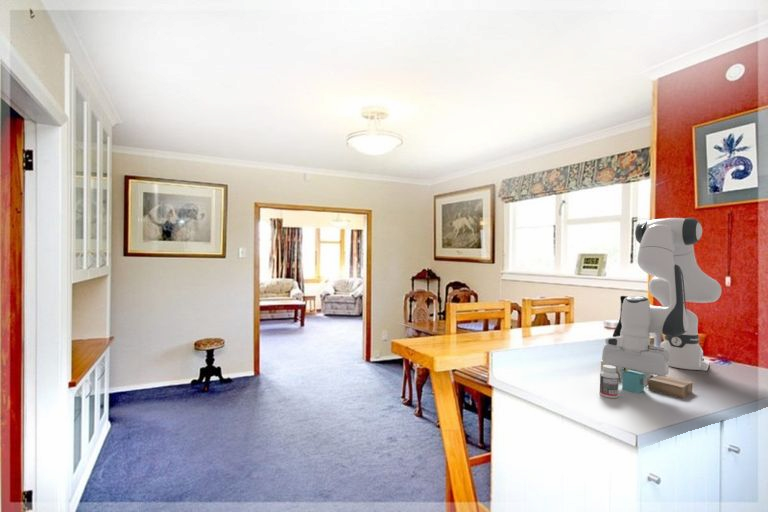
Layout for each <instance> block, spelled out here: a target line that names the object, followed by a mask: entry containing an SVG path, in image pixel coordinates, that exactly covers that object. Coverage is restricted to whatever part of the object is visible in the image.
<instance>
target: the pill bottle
mask: <svg viewBox="0 0 768 512" xmlns="http://www.w3.org/2000/svg"><path fill="white" fill-rule="evenodd" d="M603 370H604V371H602V372H601V371H600V374H599V395H600V396H602V397H605V398H611V399H617V398H618V397H619V381H620V380H619V379H620V378H619V376H618V374H616V367H615V366H612V365H603Z"/></svg>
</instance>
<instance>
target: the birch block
mask: <svg viewBox="0 0 768 512" xmlns="http://www.w3.org/2000/svg"><path fill="white" fill-rule="evenodd" d="M603 365H610V364H606V363H604V362H603V360H601V361H600V373H601V372H602V371H604V370H603ZM612 366H614V365H612ZM615 367H616V374H618V376H619V379H620V374H619V372H618V370H617V366H615Z"/></svg>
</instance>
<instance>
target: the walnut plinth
mask: <svg viewBox="0 0 768 512" xmlns="http://www.w3.org/2000/svg"><path fill="white" fill-rule="evenodd" d="M647 388H648V390H649V391H652V392H655V393H656V392H657V393H659V392H660V394H664V395H668V396H671V395H672V397H675V396H676V398H678V399H679V398H680V399H684V398H685V397H688V395H690V394H692V393H693V381H689V380H684V379H680V378H675V377H671V376H667V375H666V376H663V377H662V376H658V375H654V377H649V382H648V384H647Z"/></svg>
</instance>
